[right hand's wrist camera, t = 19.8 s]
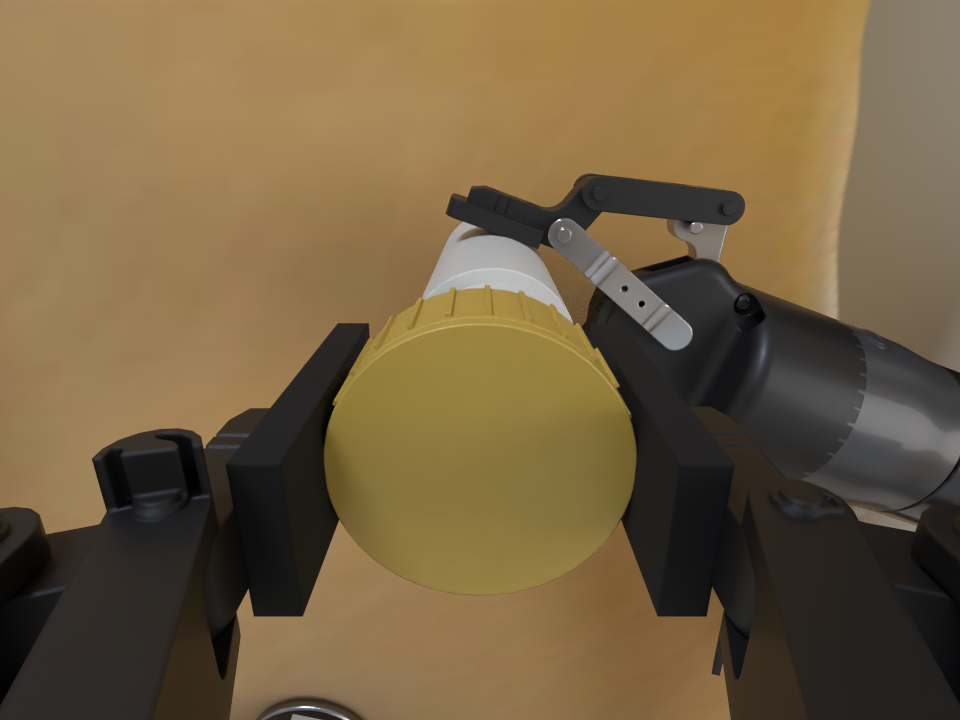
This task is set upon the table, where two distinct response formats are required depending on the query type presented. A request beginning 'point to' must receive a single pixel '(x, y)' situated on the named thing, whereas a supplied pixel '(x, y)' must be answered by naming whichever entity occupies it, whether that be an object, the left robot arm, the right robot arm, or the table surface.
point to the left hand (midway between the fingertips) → (429, 270)
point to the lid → (480, 444)
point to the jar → (492, 267)
